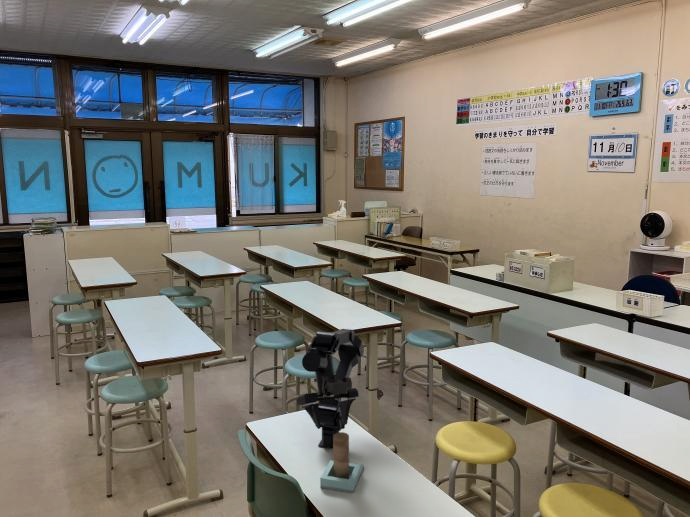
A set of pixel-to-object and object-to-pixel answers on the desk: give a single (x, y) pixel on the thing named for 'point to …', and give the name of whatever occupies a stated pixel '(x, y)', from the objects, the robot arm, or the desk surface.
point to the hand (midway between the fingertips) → (332, 426)
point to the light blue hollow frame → (339, 483)
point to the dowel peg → (341, 455)
